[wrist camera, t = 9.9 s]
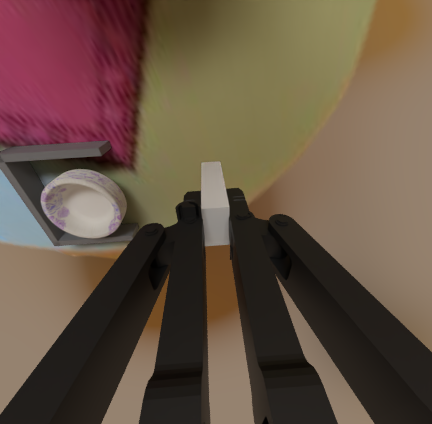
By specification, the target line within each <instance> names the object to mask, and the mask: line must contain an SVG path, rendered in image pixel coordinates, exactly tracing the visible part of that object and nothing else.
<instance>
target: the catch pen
mask: <svg viewBox="0 0 432 424" xmlns="http://www.w3.org/2000/svg"><path fill="white" fill-rule="evenodd" d="M110 149H111V145H110V142H109V141H95V142H79V143H64V144H48V145H33V146H17V147H10V148H8V149H5V150H3V151H0V169H1V170H2V172H3V173H4V174H5V176H6V177H7V179H8V180H9V182H10V183H11V184H12V186H13V187H14V189H15V190H16V192H17V193H18V194H19V196H20V197H21V199H22V200H23V202H24V203H25V204H26V206H27V207H28V209H29V210H30V212H31V213H32V214H33V216H34V217H35V219H36V220H37V222H38V223H39V224H40V226H41V227H42V229H43V230H44V232H45V233H46V234H47V236H48V237H49V239H50V240H51V242H52V243H53V244H54V246H64V245H77V244H91V243H104V242H118V241H131V240H132V239H133V238H134V236H135V235H136V234H137V231H138V229H139V226H138V224H137V223H135V224H121V225H120V226H119V227H118V229H117V230H116V231H115V232H113V233H112V234H110V235H108V236H105V237H101V238H83V237H78V236H75V235H72V234H70V233H67V232H65V231H63V230H62V229H60V228H59V227H57V226H56V225H55V224H54V223H52V222H51V221H50V219H49V218H48V217H47V216H46V214H45V213H44V211H43V208H42V205H41V194H42V191H43V189H44V188H45V187H44V186H43V184H42V182H41V181H40V179H39V178H38V176H37V174H36V173H35V171H34V169H33V168H32V166H31V164H30V163H29V161H33V160H48V159H63V158H78V157H94V156H102V155H103V154H105V153H106V152H107V151H108V150H110Z"/></svg>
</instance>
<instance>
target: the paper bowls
mask: <svg viewBox="0 0 432 424" xmlns="http://www.w3.org/2000/svg"><path fill="white" fill-rule="evenodd" d="M41 205H42V208H43V211H44V213H45V214H46V216H47V217H48V218H49V219H50V221H51V222H52V223H54V224H55V225H56V226H57V227H59V228H60V229H62V230H63V231H65V232H67V233H70V234H72V235H75V236H78V237H83V238H101V237H105V236H108V235H110V234H112V233H113V232H115V231H116V230H117V229H118V227H119V226H120V224H121V222H122V220H123V218H124V216H125V213H126V210H127V203H126V199H125V196H124V194H123V192H122V190H121V189H120V187H119V186H118V185H117V184H116V183H115V182H113V181H112V180H111V179H109V178H108V177H106V176H104V175H103V174H100V173H98V172H95V171H92V170H87V169H75V170H70V171H67V172H64V173H63V174H61V175H59V176H58V177H57V178H55V179H54V180H53V181H52V182H50V183H49V184H48V185H46V187H45V188H44V189H43V191H42V194H41Z"/></svg>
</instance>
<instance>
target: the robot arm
mask: <svg viewBox="0 0 432 424" xmlns="http://www.w3.org/2000/svg"><path fill="white" fill-rule="evenodd" d="M176 213H177V218H178V222H177V223H176V224H174V225H172V226H170V227H166V228H164V227H163V226H162V225H161V224H158V223H151V224H147V225H145V226H143V227H142V228H141V229H140V230H139V231H138V232H137V234H136V235H135V236H134V238H133V239H132V240H131V242H130V243H129V244H128V246H127V247H126V248H125V250H124V251H123V252H122V254H121V255H120V256H119V258H118V259H117V260H116V262H115V263H114V265H113V266H112V267H111V268H110V270H109V271H108V273H107V274H106V275H105V276H104V278H103V279H102V280H101V282H100V283H99V284H98V286H97V287H96V288H95V290H94V291H93V292H92V294H91V295H90V296H89V298H88V299H87V300H86V302H85V303H84V304H83V305H82V307H81V308H80V309H79V311H78V312H77V313H76V315H75V316H74V317H73V319H72V320H71V321H70V323H69V324H68V325H67V327H66V328H65V329H64V331H63V332H62V334H61V335H60V336H59V337H58V339H57V340H56V341H55V343H54V344H53V345H52V347H51V348H50V349H49V351H48V352H47V353H46V355H45V356H44V357H43V359H42V360H41V362H40V363H39V364H38V365H37V367H36V368H35V369H34V371H33V372H32V373H31V375H30V376H29V377H28V379H27V380H26V381H25V383H24V384H23V386H22V387H21V388H20V389H19V391H18V392H17V393H16V394H15V396H14V397H13V398H12V400H11V401H10V402H9V404H8V405H7V406H6V408H5V409H4V410H3V412H2V413H1V414H0V424H101V423H102V421H103V418H104V416H105V414H106V412H107V409H108V407H109V405H110V403H111V401H112V398H113V396H114V394H115V392H116V389H117V387H118V384H119V383H120V381H121V378H122V376H123V374H124V372H125V369H126V367H127V365H128V363H129V361H130V358H131V356H132V354H133V352H134V349H135V347H136V345H137V343H138V340H139V338H140V336H141V334H142V332H143V329H144V327H145V325H146V323H147V320H148V318H149V316H150V314H151V312H152V309H153V307H154V305H155V303H156V300H157V298H158V296H159V294H160V292H161V289H162V287H163V285H164V283H165V280H166V278H167V276H168V274H169V272H170V274H169V281H168V287H167V293H166V300H165V306H164V312H163V319H162V325H161V332H160V338H159V345H158V351H157V357H156V363H155V369H154V373H153V375H152V377H151V378H150V380H149V381H148V384H147V387H146V389H145V394H144V398H143V403H142V410H141V415H140V420H139V424H210V407H209V384H208V383H209V382H208V339H207V296H206V254H205V253H206V252H205V246H214V245H229V244H230V260H232V266H233V273H234V279H235V286H236V292H237V299H238V306H239V313H240V319H241V326H242V332H243V339H244V345H245V352H246V359H247V365H248V371H249V378H250V384H251V392H252V404H253V415H254V422H255V424H338V423H337V420H336V418H335V415H334V413H333V410H332V407H331V405H330V402H329V400H328V397H327V394H326V392H325V389H324V386H323V384H322V382H321V379H320V377H319V375H318V373H317V372H316V370H315V368H314V367H313V366H312V365H311V364H309V363H308V362H307V360H306V359H305V356H304V354H303V351H302V349H301V346H300V343H299V340H298V337H297V335H296V332H295V329H294V326H293V323H292V321H291V318H290V315H289V312H288V310H287V307H286V304H285V301H284V298H283V295H282V293H281V290H280V287H279V284H278V281H277V279H276V276H277V277H278V279H279V280H280V282H281V283H282V285H283V286H284V288H285V289H286V291H287V292H288V294H289V296H290V297H291V298H292V300H293V302H294V303H295V305H296V306H297V308H298V309H299V311H300V312H301V313H302V315H303V317H304V318H305V320H306V321H307V323H308V324H309V326H310V327H311V329H312V330H313V332H314V333H315V335H316V336H317V338H318V339H319V341H320V342H321V344H322V345H323V347H324V348H325V350H326V351H327V353H328V354H329V356H330V357H331V359H332V360H333V362H334V363H335V365H336V366H337V368H338V369H339V371H340V372H341V374H342V375H343V377H344V378H345V380H346V381H347V383H348V384H349V386H350V387H351V389H352V390H353V392H354V393H355V395H356V396H357V398H358V399H359V401H360V402H361V404H362V405H363V407H364V408H365V410H366V411H367V413H368V414H369V415H370V417H371V419H372V420H373V422H374V423H375V424H432V352H431V351H430V350H429V349H428V348H427V347H426V346H425V345H424V344H423V343H422V342H421V341H419V340H418V339H417V338H416V337H415V336H414V335H413V334H412V333H411V332H410V331H409V330H408V329H407V328H406V327H405V326H404V325H403V324H402V323H401V322H400V321H399V320H398V319H397V318H395V316H393V315H392V314H391V313H390V312H389V311H388V310H387V309H386V308H385V307H384V306H383V305H382V304H381V303H380V302H379V301H378V300H377V299H376V298H375V297H374V296H373V295H372V294H370V292H368V291H367V290H366V289H365V288H364V287H363V286H362V285H361V284H360V283H359V282H358V281H357V280H356V279H355V278H354V277H353V276H352V275H351V274H350V273H349V272H348V271H347V270H345V268H343V267H342V266H341V265H340V264H339V263H338V262H337V261H336V260H335V259H334V258H333V257H332V256H331V255H330V254H329V253H328V252H327V251H325V249H324V248H323V247H322V246H321V245H320V244H319V243H317V242H316V241H315V240H314V239H313V238H312V237H311V236H310V235H309V234H308V233H307V232H306V231H305V230H304V229H303V228H302V227H301V226H300V225H299V224H297V222H296V221H295V220H294V219H292V218H291V217H289V216H287V215H283V214H276V215H273V216H271V217H270V218H269V220H262V219H258V218H255V217H254V215H253V213H252V212H250V211H249V209H248V206H247V203H246V200H245V197H244V194H243V191H242V190H240V189H239V188H231V189H226V187H225V182H224V177H223V172H222V168H221V163H220V161H217V162H201V191H192V192H187V193H186V194H185V195H184V201H183V202H181V203H179V204H178V205H177V206H176ZM275 274H276V276H275Z"/></svg>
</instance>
